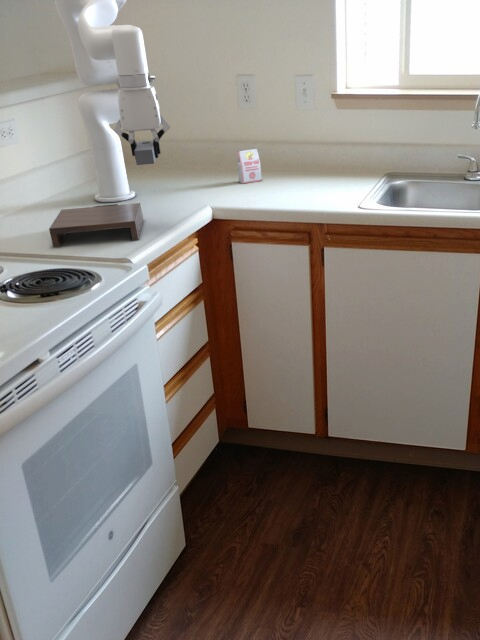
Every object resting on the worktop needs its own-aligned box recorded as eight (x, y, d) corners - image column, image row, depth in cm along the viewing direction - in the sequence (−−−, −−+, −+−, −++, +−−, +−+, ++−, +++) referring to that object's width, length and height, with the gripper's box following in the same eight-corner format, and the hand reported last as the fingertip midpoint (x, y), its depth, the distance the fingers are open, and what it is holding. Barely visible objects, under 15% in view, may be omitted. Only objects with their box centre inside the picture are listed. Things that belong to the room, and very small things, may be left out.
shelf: (65, 227, 215) (61, 209, 213) (143, 220, 217) (140, 202, 215) (53, 247, 198) (48, 228, 196) (138, 240, 200) (134, 221, 198)
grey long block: (140, 155, 206) (138, 141, 204) (157, 153, 206) (155, 139, 204) (136, 165, 194) (134, 150, 192) (154, 163, 194) (152, 148, 192)
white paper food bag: (239, 181, 255) (235, 150, 250) (257, 178, 257) (254, 147, 252) (242, 183, 252) (239, 152, 247) (261, 180, 254) (258, 149, 249)
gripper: (169, 78, 194) (179, 152, 204) (102, 83, 193) (116, 157, 202) (167, 81, 188) (178, 158, 197) (98, 86, 187) (113, 163, 196)
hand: (147, 157), depth 200 cm, fingers closed on grey long block, 4 cm apart
